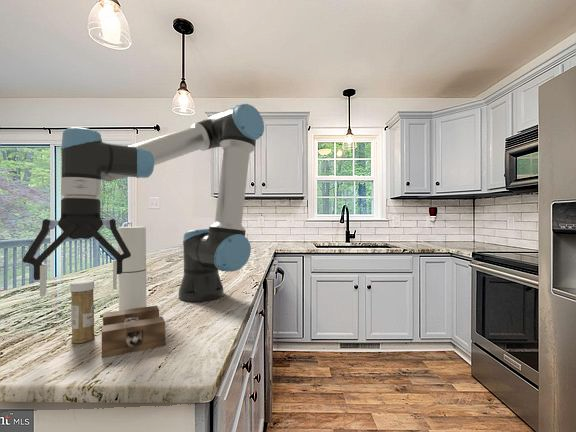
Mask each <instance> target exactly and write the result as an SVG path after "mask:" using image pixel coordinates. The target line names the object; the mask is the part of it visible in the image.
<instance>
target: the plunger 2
mask: <svg viewBox="0 0 576 432" xmlns="http://www.w3.org/2000/svg"><path fill="white" fill-rule="evenodd" d="M139 334H140V331H134V332H129V333H128V336H129V337H130V338H132V341H133V343H137V342H138V338H137V337H138V335H139Z"/></svg>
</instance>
